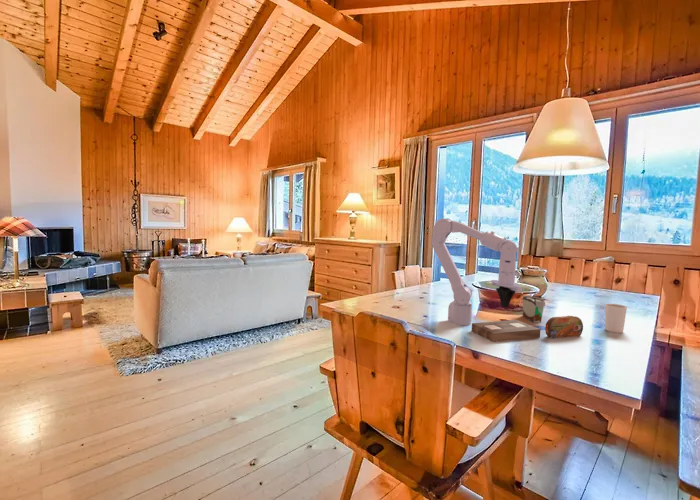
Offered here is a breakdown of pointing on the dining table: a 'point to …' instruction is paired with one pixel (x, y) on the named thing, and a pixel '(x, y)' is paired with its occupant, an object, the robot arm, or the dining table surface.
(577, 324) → the tin
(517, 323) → the key back
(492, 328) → the pale pink block
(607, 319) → the beige cup
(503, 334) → the panel
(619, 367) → the dining table surface
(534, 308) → the food container
